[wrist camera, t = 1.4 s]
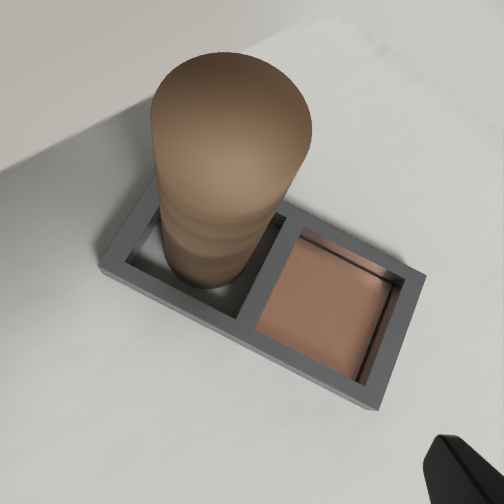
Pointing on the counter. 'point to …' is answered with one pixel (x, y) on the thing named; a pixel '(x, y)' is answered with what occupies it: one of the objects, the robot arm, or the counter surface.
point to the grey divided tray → (298, 301)
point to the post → (223, 160)
